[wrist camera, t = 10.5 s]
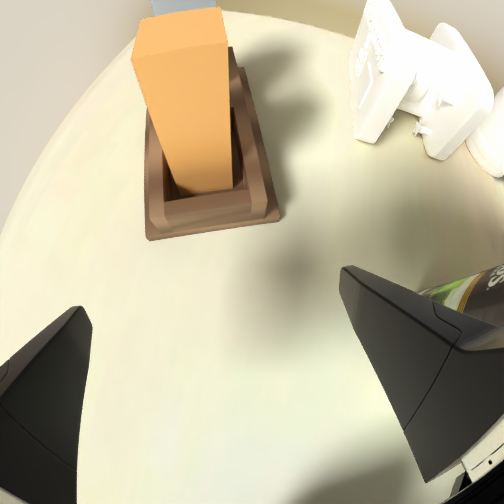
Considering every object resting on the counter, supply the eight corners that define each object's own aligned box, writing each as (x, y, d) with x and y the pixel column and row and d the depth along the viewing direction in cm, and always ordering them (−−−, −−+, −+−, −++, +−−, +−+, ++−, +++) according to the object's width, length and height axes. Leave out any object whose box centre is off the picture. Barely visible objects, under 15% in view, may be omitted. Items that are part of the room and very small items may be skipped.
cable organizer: (437, 177, 25) (505, 111, 14) (345, 149, 25) (393, 53, 14) (416, 85, 29) (453, 22, 18) (341, 60, 29) (366, -15, 18)
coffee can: (381, 294, 21) (522, 237, 8) (469, 282, 22) (585, 235, 8) (387, 419, 18) (518, 473, 5) (475, 387, 19) (592, 392, 5)
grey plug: (221, 111, 24) (214, -17, 12) (177, 118, 24) (149, -7, 11) (217, 84, 25) (210, -32, 13) (177, 90, 25) (154, -23, 12)
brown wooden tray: (278, 221, 22) (285, 198, 19) (149, 241, 22) (132, 222, 18) (243, 73, 27) (244, 45, 23) (150, 87, 26) (142, 60, 22)
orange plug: (232, 188, 22) (227, 42, 9) (180, 196, 22) (130, 59, 9) (226, 146, 23) (220, 6, 11) (178, 153, 23) (141, 19, 10)
